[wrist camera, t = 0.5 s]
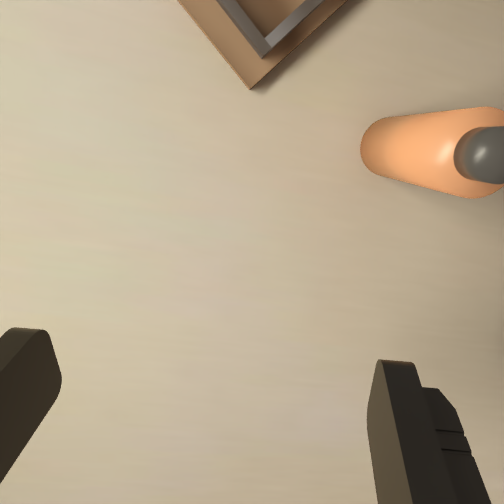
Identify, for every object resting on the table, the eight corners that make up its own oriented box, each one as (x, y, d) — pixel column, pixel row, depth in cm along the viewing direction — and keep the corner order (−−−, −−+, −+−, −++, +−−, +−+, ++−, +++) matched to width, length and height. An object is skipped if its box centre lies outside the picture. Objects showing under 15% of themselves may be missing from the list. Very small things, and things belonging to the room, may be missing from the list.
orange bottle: (382, 187, 36) (486, 223, 21) (349, 144, 34) (436, 150, 20) (427, 150, 35) (567, 161, 21) (395, 104, 34) (519, 81, 19)
